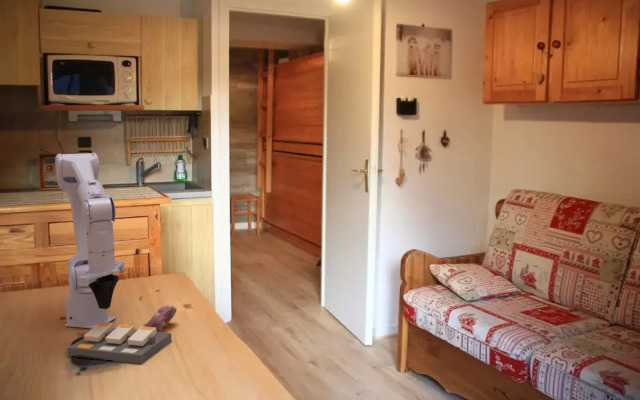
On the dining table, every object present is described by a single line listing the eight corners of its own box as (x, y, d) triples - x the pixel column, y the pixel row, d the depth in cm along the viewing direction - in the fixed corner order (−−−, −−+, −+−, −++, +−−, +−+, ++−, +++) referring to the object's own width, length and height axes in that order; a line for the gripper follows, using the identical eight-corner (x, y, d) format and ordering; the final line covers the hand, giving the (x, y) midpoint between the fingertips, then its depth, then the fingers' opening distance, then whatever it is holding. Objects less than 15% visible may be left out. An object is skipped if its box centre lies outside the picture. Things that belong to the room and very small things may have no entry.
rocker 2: (106, 342, 127) (105, 337, 126) (121, 328, 132) (120, 323, 132) (120, 344, 126) (119, 338, 125) (135, 329, 131) (134, 325, 131)
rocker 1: (84, 340, 128) (83, 335, 128) (100, 326, 133) (99, 321, 133) (98, 341, 127) (97, 336, 127) (114, 328, 133) (113, 323, 132)
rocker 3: (128, 344, 125) (127, 339, 125) (142, 331, 131) (141, 326, 130) (142, 346, 124) (142, 340, 124) (156, 332, 130) (156, 327, 130)
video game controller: (153, 343, 136) (164, 319, 135) (137, 334, 137) (148, 309, 135) (171, 328, 146) (182, 305, 144) (156, 319, 146) (167, 297, 145)
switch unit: (67, 356, 125) (66, 341, 125) (103, 334, 138) (102, 320, 137) (141, 364, 121) (140, 348, 120) (171, 341, 133) (170, 327, 133)
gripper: (96, 258, 122) (100, 319, 124) (134, 244, 136) (137, 299, 138) (68, 257, 124) (72, 317, 126) (108, 242, 138) (111, 297, 139)
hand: (104, 307), depth 132 cm, fingers closed
